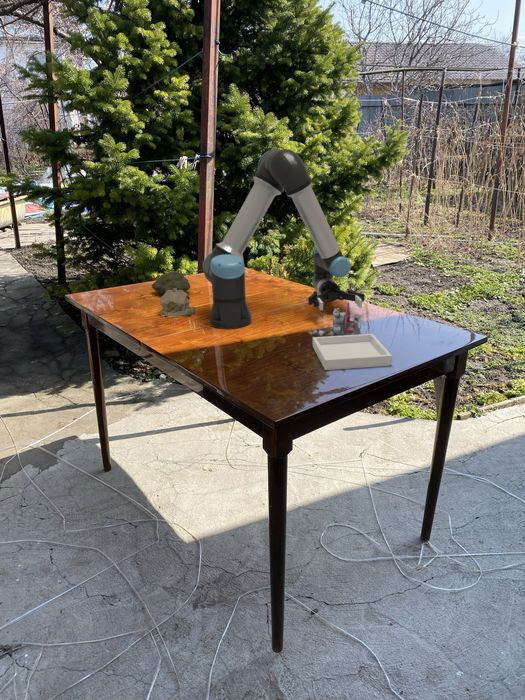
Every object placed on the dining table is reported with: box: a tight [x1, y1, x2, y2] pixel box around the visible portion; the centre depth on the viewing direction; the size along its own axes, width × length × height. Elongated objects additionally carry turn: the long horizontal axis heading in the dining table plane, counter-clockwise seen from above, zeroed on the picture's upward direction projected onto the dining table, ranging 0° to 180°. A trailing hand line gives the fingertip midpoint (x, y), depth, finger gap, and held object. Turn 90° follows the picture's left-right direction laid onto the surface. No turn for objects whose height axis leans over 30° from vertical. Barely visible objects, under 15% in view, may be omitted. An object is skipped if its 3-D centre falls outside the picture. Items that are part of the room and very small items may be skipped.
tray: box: [312, 333, 393, 371], centre depth 156 cm, size 19×19×3 cm
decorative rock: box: [151, 270, 191, 294], centre depth 229 cm, size 15×16×10 cm
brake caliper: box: [330, 301, 362, 336], centre depth 174 cm, size 11×11×12 cm
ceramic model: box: [159, 288, 196, 317], centre depth 201 cm, size 14×11×10 cm
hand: (341, 305), depth 181 cm, fingers open, 13 cm apart
